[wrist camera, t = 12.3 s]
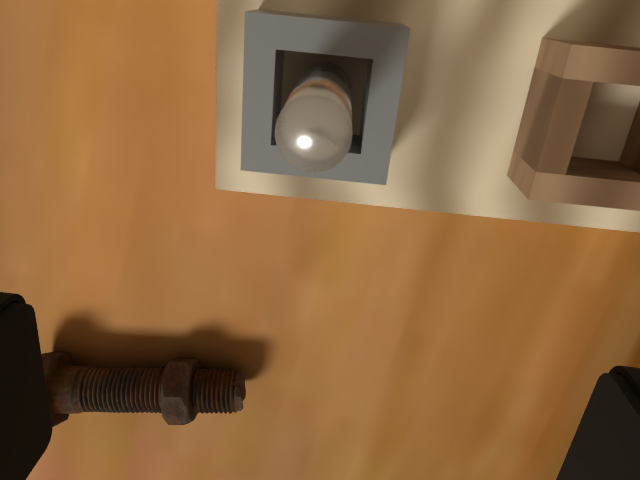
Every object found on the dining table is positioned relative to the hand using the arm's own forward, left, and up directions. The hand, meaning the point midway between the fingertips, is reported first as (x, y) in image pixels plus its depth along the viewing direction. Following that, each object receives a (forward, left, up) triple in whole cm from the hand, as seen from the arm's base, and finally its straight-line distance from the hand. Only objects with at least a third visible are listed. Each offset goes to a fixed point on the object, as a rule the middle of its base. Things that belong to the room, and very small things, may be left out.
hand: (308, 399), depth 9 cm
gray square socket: (+1, -1, -23) cm, 23 cm away
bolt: (+12, +21, -25) cm, 35 cm away
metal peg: (+1, -1, -23) cm, 23 cm away
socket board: (-7, -1, -25) cm, 26 cm away
